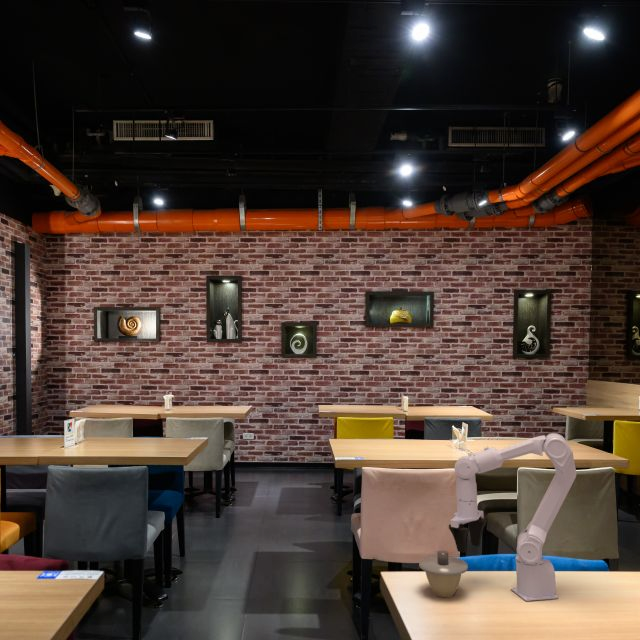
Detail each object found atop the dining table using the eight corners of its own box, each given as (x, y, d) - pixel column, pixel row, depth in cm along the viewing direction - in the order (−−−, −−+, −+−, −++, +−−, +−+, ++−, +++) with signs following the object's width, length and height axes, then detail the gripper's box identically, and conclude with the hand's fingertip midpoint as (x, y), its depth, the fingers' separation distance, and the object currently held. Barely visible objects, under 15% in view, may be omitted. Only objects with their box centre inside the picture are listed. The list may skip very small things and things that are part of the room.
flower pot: (463, 602, 139) (462, 574, 140) (425, 599, 141) (424, 571, 142) (461, 587, 149) (460, 561, 150) (425, 585, 151) (424, 559, 152)
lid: (455, 557, 153) (455, 543, 154) (476, 573, 141) (475, 558, 141) (412, 560, 151) (412, 546, 152) (429, 577, 138) (429, 562, 139)
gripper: (467, 493, 160) (469, 539, 158) (440, 501, 150) (442, 551, 148) (489, 496, 155) (491, 545, 153) (462, 505, 145) (464, 557, 143)
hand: (468, 548), depth 151 cm, fingers open, 7 cm apart
